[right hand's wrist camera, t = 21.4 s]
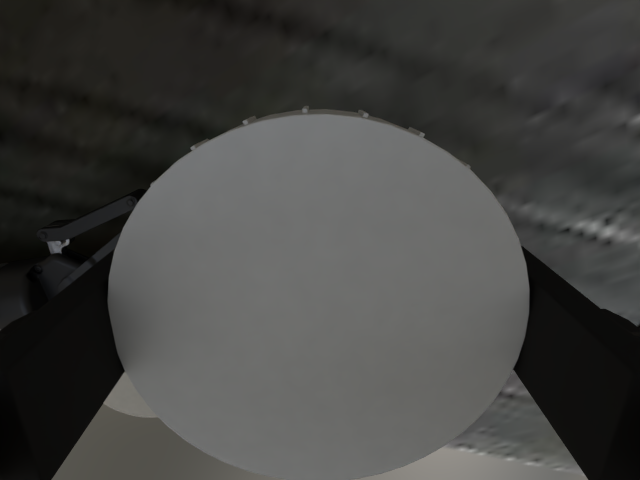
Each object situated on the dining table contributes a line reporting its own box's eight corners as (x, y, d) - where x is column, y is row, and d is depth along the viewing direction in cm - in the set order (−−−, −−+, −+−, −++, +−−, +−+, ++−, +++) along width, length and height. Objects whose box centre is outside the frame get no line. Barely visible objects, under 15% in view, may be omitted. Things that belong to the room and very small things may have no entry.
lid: (372, 8, 9) (384, -9, 8) (564, 332, 12) (601, 371, 11) (55, 257, 11) (11, 287, 10) (285, 481, 15) (280, 532, 13)
